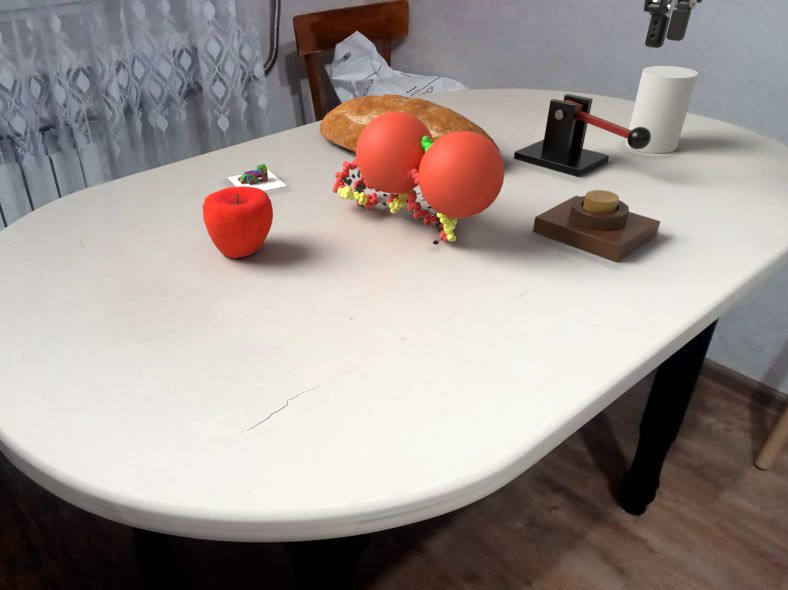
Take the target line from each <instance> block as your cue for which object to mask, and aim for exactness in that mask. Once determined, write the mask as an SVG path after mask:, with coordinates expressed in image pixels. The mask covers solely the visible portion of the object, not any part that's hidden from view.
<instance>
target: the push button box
mask: <svg viewBox="0 0 788 590" xmlns="http://www.w3.org/2000/svg"><path fill="white" fill-rule="evenodd" d="M585 196H586V195H582V196H579V195H574V196H573V197H570V198H568V199H567V200H565V201H562V202H560V203H558V204H557V205H554V206H553V207H551V208H549V209H547V210H546V211H543V212H542V213H540V214H538V215H536V216H535V217H534V221H533V227H532V233H534V234H537V235H540V236H543V237H545V238H548V239H551V240H554V241H556V242H559V243H562V244H565V245H568V246H571V247H573V248H576V249H578V250H582V251H584V252H586V253H587V252H588V253H589V254H592V255H596V256H599V257H601V258H604V259H607V260H609V261H612V262H615V263H619V262H620V261H622V260H623V259H625V258H626V257H627V256H629V255H631V254H632V253H634V252H635V251H636V250H638V249H639V248H642V246H644V245H646V244H647V243H648V242H650V241H651V240H653V239H654V238H656V237H657V234H658V231H659V228H660V224H661V221H660V220H658V219H655V218H651V217H648V216H645V215H642V214H638V213H635V212H632V211H630V206H629V205H628V204H626V203H625V202H623V201H622V200H620V199H619V201H618V205H617V209H616V212H614V213H607V214H604V213H594V212H591V211H588V210H586V209H585V208H583V205H584V200H585Z"/></svg>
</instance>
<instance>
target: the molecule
mask: <svg viewBox="0 0 788 590" xmlns="http://www.w3.org/2000/svg"><path fill="white" fill-rule="evenodd" d="M498 148H499V147H498ZM498 148H497V147H496V146H495V145H494V144H493V143H492V141H490V140H489V139H487V138H486V137H485V136H482V135H480V134H478V133H475V132H470V131H459V132H452V133H449V134H447V135H444V136H442V137H441V138H439V139H438V140H436V141H435V142H434V141H433V138H432V135H431V133H430V131H429V129H428V128H427V127H426V125H425V124H424V123H423V122H422V121H421V120H419V119H418V118H416V117H415V116H413V115H410V114H408V113H404V112H389V113H385V114H383V115H380V116H378V117H376V118H375V119H373V120H372V121H370V122H369V124H368V125H367V126H366V127H365V128H364V130H363V131H362V133H361V135H360V137H359V140H358V143H357V147H356V153H355V158H354V159H353V160H351V161H352V162H350V161H349V162H348V161H346V160H343V162H342V163H341V165H342V169H341V170H342V171H336V172H335V173H334V177H335V178H336V179H335V182H334V183H333V187H332V192H333V193H334V194H339V195H340V198H341V199H342V200H351V201H354V200H355V202H356V205H357V206H359V207H360V206H364V208H365V210H367V211H370V210H371V208H372V207H375V206H377V205H378V203H382V205H383V206H384V207H386V206H387V205H388V208H389V210H390V213H391V214H396V213H399V211H400V210H401V208H404V207H406V210H408V211H409V212H414V213H413V215H412V216H413V218H414V219H416V220H419V218H423V223H424V225H425V226H426V227H430V226H431V224H433V227H434V228H435V230H436V231H437V233H439V236H440V237H439V238H440V239H439V240H433V241H432V244H433V245H434V246H435V245H438V244H439V242H440V241H443V242H444V243H448V242H451V243H454V242H456V240H457V237H456V235H455V233H454V231H453V230H455V228H456V224H457V222H458V220H457V219H466V218H471V217H474V216H476V215H479V214H481V213H483V212H484V211H485V210H487V209H489V208H490V206H492V204H493V203H494V202H495V201H496V199H497V198H498V196H499V195H500V193H501V191H502V188H503V185H504V182H505V171H506V169H505V165H504V160H503V156H502V154H501V151H500V152H499V150H500V149H499V150H498ZM350 170H351V171H354V170H357V174H356V175H355V174H354V173H352V174H351V176H350ZM356 176H357V177H356ZM356 178H358V179H356ZM352 179H353V180H354V181H353V180H352ZM355 179H356V180H355ZM352 184H353V186H352ZM351 186H352V187H351ZM418 186H419V190H420V192H418V193H417V190H415V189H416V187H418ZM366 189H369V190H374V192H372V193H371V194H370V193H368V194H366V192H365V190H366ZM379 192H381V193H382V196H383V197H385V198H388V199H387V201H386V202H387V203H386V202H385V201H380V200H379V199H378V194H377V193H379ZM388 194H389V195H388ZM418 195H421V198H423V199H421V200H420V201H416V200H417V199H418ZM424 201H425V202H426V204H427V205H428V206H427V207H426V209H425V208H424V209H422V204H421V203H422V202H424ZM431 209H432V210H434V211H435V212H434V213H433V214H431V212H430V210H431Z"/></svg>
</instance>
